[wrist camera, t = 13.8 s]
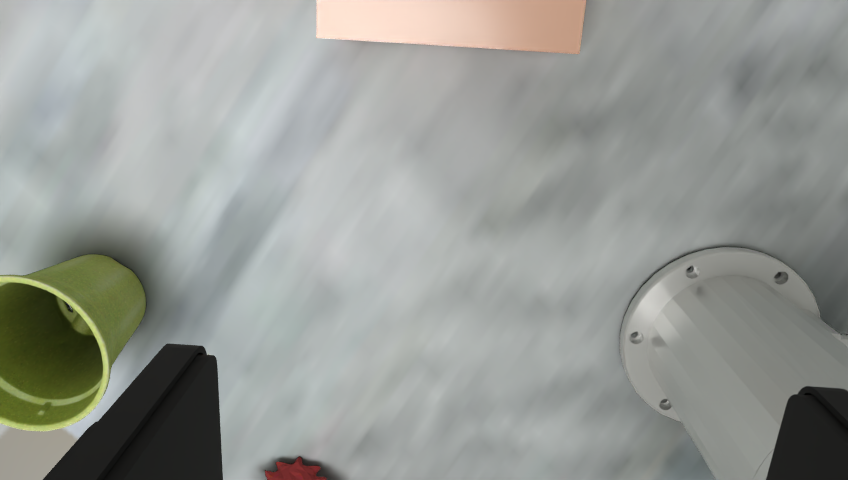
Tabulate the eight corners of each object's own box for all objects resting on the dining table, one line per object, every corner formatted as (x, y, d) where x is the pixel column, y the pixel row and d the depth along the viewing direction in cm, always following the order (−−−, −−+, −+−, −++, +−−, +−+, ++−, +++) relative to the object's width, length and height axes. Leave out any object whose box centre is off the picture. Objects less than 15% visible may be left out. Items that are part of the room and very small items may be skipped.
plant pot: (9, 243, 42) (-96, 295, 34) (143, 215, 41) (69, 262, 33) (63, 367, 45) (-22, 443, 37) (190, 343, 44) (132, 416, 36)
